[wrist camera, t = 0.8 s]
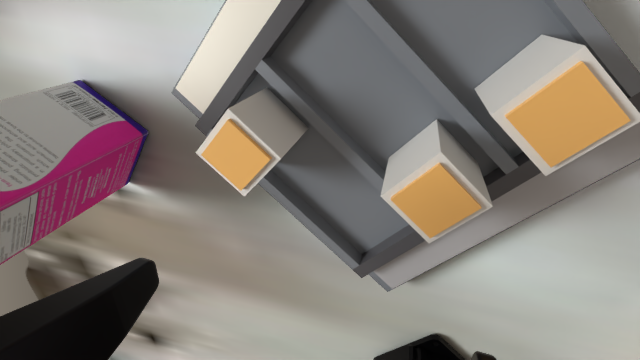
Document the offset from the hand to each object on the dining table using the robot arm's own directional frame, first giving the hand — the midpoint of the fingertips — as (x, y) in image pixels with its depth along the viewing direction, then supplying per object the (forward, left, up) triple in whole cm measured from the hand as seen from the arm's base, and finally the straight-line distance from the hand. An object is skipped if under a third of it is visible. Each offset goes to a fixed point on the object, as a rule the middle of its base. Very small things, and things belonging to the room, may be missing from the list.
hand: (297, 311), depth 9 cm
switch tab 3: (-2, -8, -10) cm, 13 cm away
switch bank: (+1, -3, -12) cm, 12 cm away
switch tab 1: (+5, +2, -10) cm, 11 cm away
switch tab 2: (-2, -3, -10) cm, 11 cm away
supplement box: (+13, +13, -12) cm, 22 cm away
